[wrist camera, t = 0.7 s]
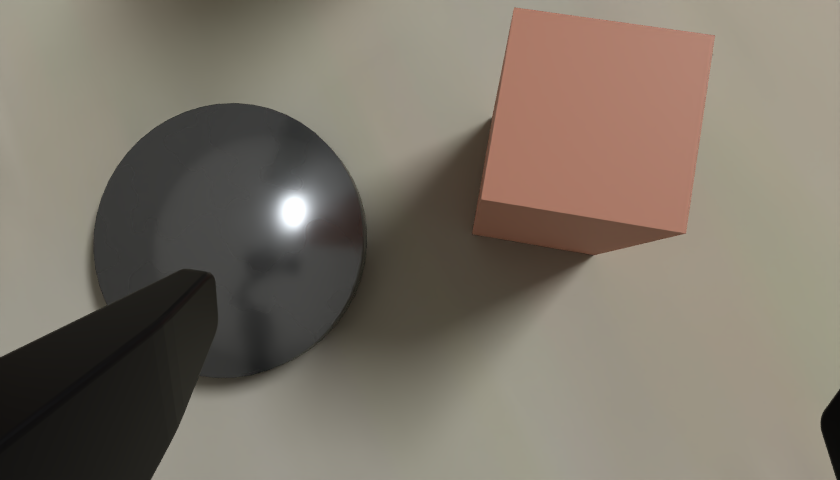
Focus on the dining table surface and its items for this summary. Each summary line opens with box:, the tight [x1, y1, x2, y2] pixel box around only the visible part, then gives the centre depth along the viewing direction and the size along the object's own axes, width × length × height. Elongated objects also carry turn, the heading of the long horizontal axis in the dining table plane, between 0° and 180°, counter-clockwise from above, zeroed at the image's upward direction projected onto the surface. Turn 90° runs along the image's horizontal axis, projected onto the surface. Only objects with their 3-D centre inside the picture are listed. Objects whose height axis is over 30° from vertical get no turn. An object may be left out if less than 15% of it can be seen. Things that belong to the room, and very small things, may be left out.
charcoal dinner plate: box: [94, 103, 367, 378], centre depth 21 cm, size 10×10×1 cm
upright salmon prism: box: [472, 8, 715, 255], centre depth 17 cm, size 4×4×8 cm
